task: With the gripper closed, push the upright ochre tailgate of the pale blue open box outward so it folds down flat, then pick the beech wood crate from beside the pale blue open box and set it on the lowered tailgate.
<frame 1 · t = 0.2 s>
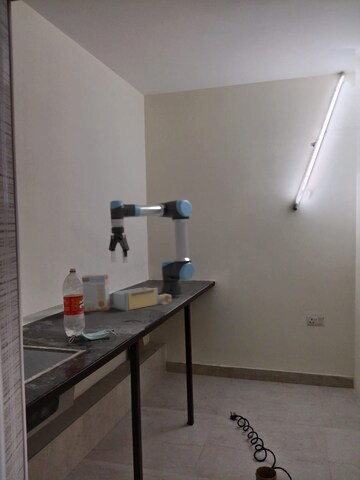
hand: (119, 262, 232), 27 cm above the worktop, fingers open, 13 cm apart
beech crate: (164, 304, 235), on the worktop
cracker box: (97, 311, 225), on the worktop
tailgate: (142, 298, 224), point 6 cm above the worktop, hinge at 0.0°
pale blue open box: (135, 307, 230), on the worktop
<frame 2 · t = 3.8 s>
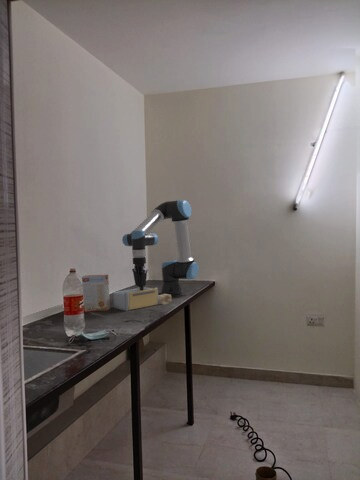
hand: (141, 297, 225), 7 cm above the worktop, fingers closed
tailgate: (143, 298, 223), point 6 cm above the worktop, hinge at 6.6°, touching gripper
everything else where it was.
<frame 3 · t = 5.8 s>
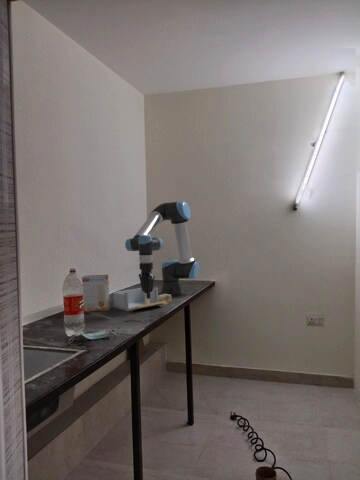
hand: (147, 304, 220), 4 cm above the worktop, fingers closed
tailgate: (148, 306, 220), point 2 cm above the worktop, hinge at 71.7°, touching gripper
everything else where it was.
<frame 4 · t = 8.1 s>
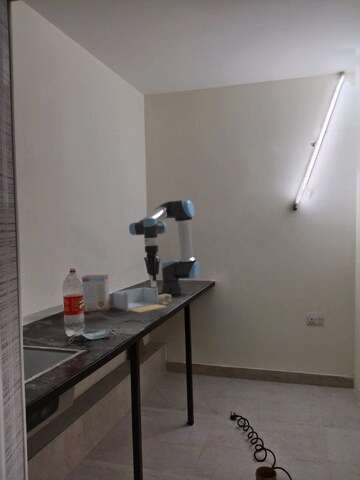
hand: (153, 286, 222), 13 cm above the worktop, fingers closed
tailgate: (148, 309, 220), point 1 cm above the worktop, hinge at 90.1°
everything else where it was.
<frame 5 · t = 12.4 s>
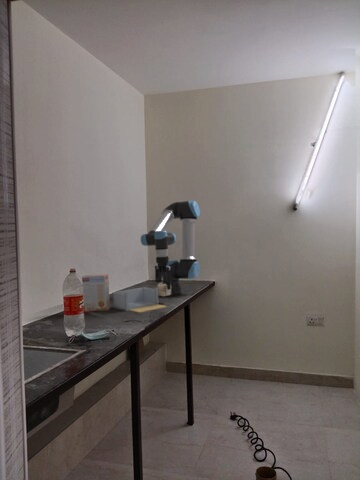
hand: (164, 294, 235), 6 cm above the worktop, fingers closed on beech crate, 7 cm apart
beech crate: (164, 294, 235), point 6 cm above the worktop, touching gripper
everything else where it was.
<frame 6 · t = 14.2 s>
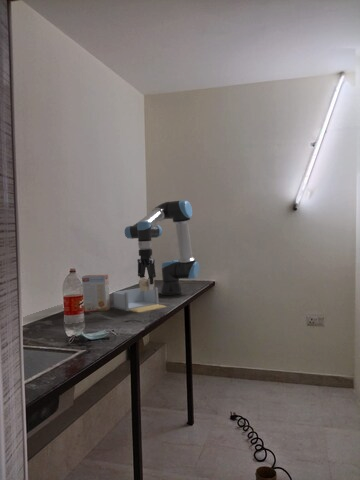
hand: (147, 289, 220), 12 cm above the worktop, fingers closed on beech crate, 7 cm apart
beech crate: (147, 290, 220), point 12 cm above the worktop, touching gripper
everything else where it was.
when the fingers open (2 cm above the worktop, at t = 16.2 s): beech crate stays where it is, resting on tailgate.
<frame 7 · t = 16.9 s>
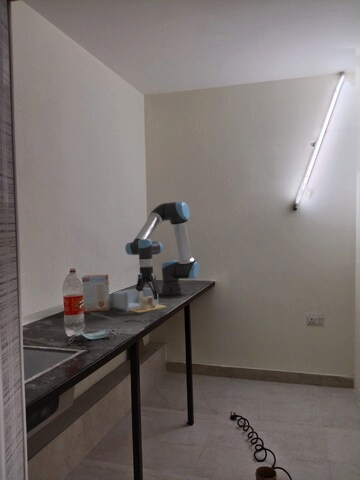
hand: (148, 303, 220), 4 cm above the worktop, fingers open, 13 cm apart
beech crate: (148, 307, 220), point 1 cm above the worktop, touching tailgate
tailgate: (148, 309, 220), point 1 cm above the worktop, hinge at 90.1°, touching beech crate
everything else where it was.
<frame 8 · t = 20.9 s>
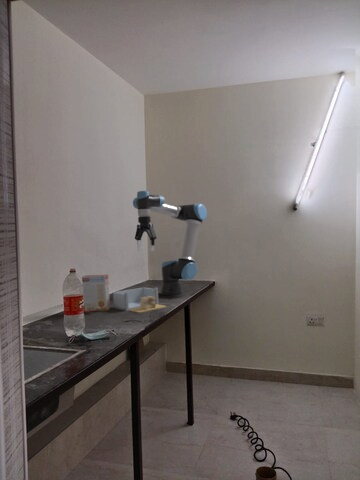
hand: (146, 250, 240), 33 cm above the worktop, fingers open, 13 cm apart
nothing on the worktop moved.
at the end: tailgate at +90° (first picture: +0°); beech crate inside the target area on the worktop beside the tailgate (0.8 cm from its centre), point 0.5 cm above the worktop; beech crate tilted 0° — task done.
